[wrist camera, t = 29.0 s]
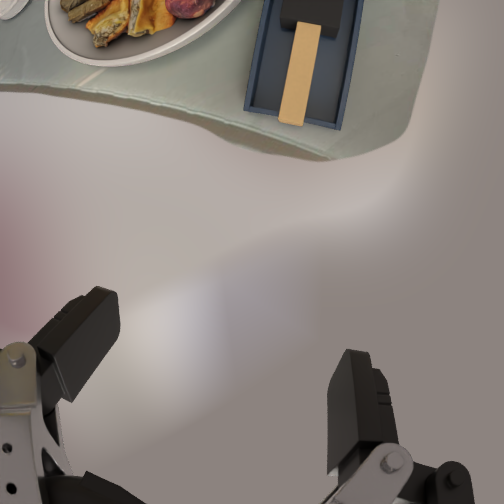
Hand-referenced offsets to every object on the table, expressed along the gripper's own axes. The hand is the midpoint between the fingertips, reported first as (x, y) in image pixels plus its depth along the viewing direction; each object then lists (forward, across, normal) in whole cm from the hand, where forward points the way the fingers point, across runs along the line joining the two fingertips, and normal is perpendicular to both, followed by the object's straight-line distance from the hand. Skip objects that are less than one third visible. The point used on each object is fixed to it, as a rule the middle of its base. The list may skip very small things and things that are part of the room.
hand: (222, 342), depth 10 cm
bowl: (+28, +21, -26) cm, 44 cm away
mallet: (+26, 0, -15) cm, 30 cm away
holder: (+28, 0, -18) cm, 33 cm away
